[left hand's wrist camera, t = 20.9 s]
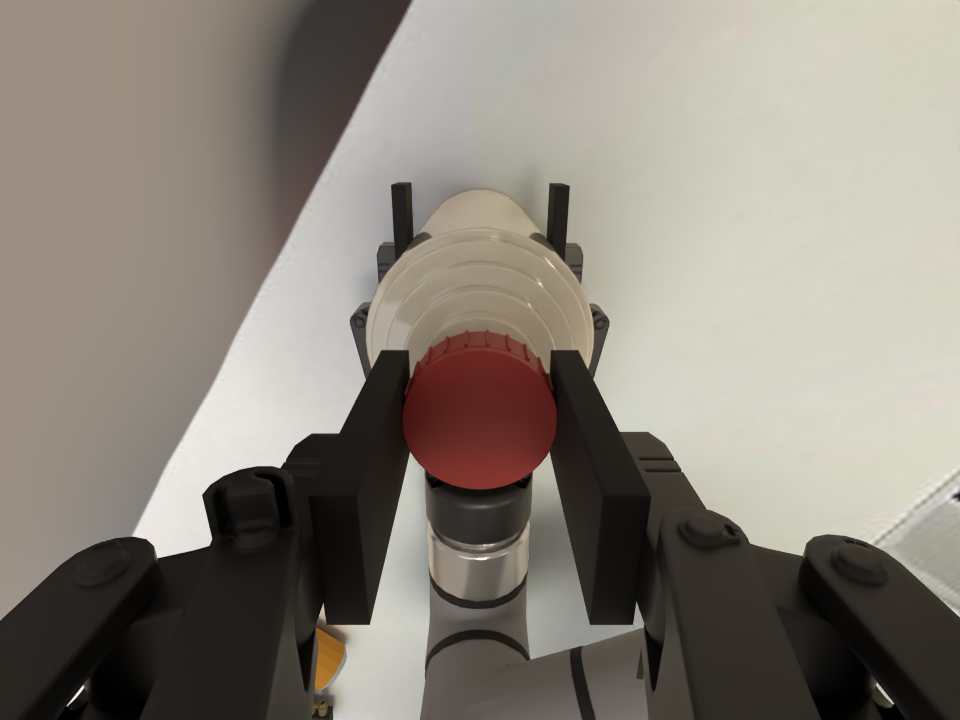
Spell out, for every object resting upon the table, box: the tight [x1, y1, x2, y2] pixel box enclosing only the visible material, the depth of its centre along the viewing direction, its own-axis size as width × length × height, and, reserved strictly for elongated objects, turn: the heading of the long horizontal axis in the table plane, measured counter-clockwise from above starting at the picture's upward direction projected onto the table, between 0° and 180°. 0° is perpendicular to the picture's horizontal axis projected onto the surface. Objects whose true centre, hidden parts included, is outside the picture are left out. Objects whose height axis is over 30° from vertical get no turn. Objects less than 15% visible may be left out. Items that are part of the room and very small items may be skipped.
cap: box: [403, 330, 557, 489], centre depth 14 cm, size 4×4×2 cm
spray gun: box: [312, 627, 347, 720], centre depth 50 cm, size 4×17×15 cm
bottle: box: [366, 190, 594, 378], centre depth 25 cm, size 8×8×25 cm
